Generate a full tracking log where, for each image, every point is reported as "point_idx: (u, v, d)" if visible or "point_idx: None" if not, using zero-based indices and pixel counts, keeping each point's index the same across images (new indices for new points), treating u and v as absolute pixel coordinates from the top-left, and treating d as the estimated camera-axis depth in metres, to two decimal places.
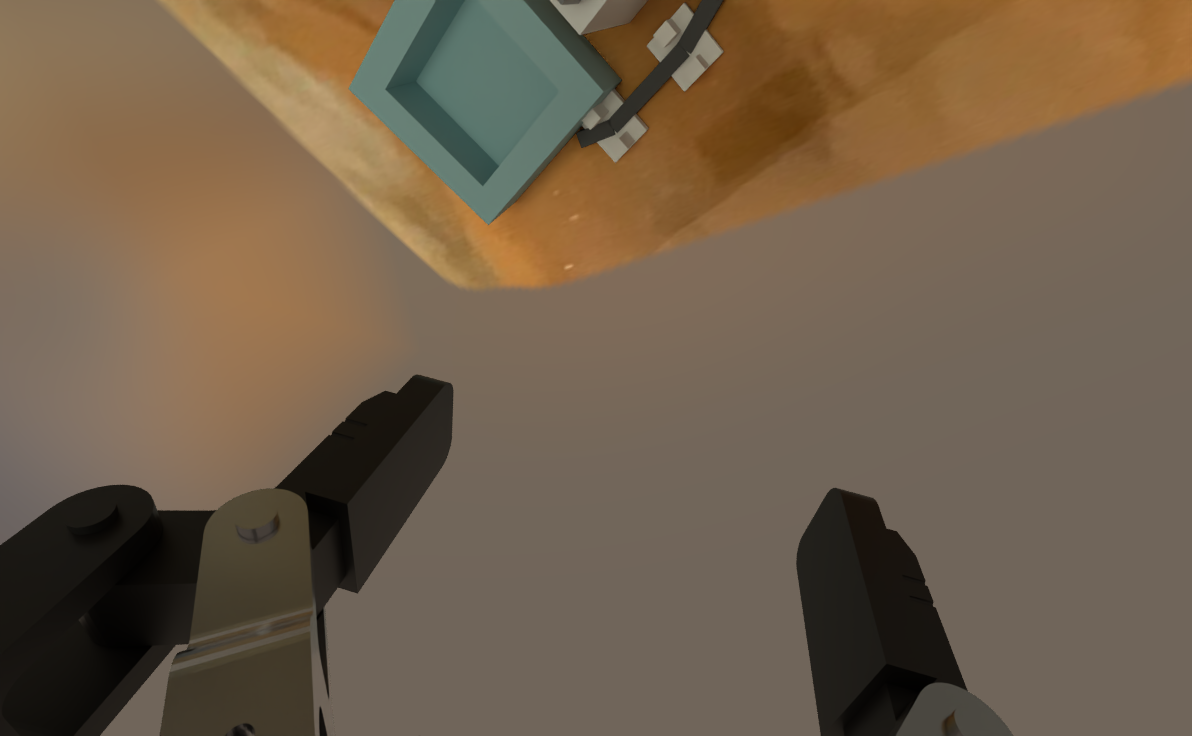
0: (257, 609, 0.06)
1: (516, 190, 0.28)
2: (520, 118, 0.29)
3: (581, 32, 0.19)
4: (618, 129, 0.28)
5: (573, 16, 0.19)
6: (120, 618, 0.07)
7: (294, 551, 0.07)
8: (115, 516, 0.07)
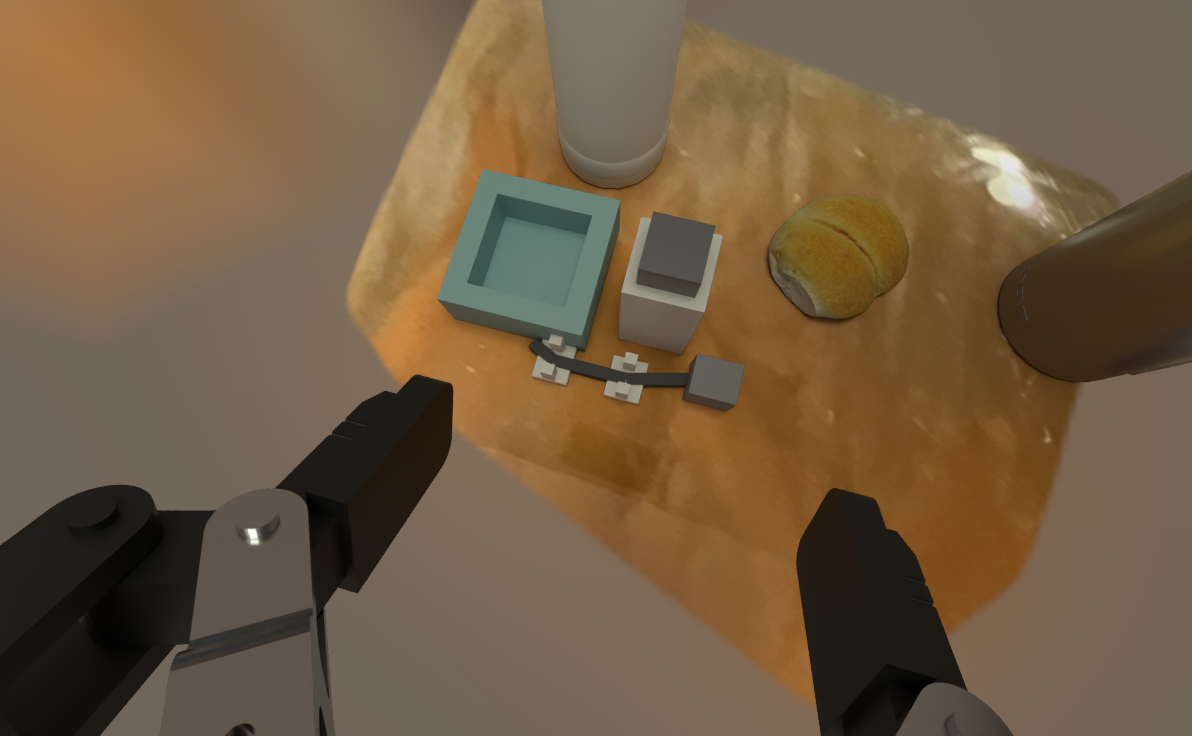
0: (257, 609, 0.06)
1: (478, 308, 0.33)
2: (523, 295, 0.37)
3: (622, 292, 0.28)
4: (555, 365, 0.36)
5: (628, 284, 0.28)
6: (120, 618, 0.07)
7: (294, 551, 0.07)
8: (115, 516, 0.07)
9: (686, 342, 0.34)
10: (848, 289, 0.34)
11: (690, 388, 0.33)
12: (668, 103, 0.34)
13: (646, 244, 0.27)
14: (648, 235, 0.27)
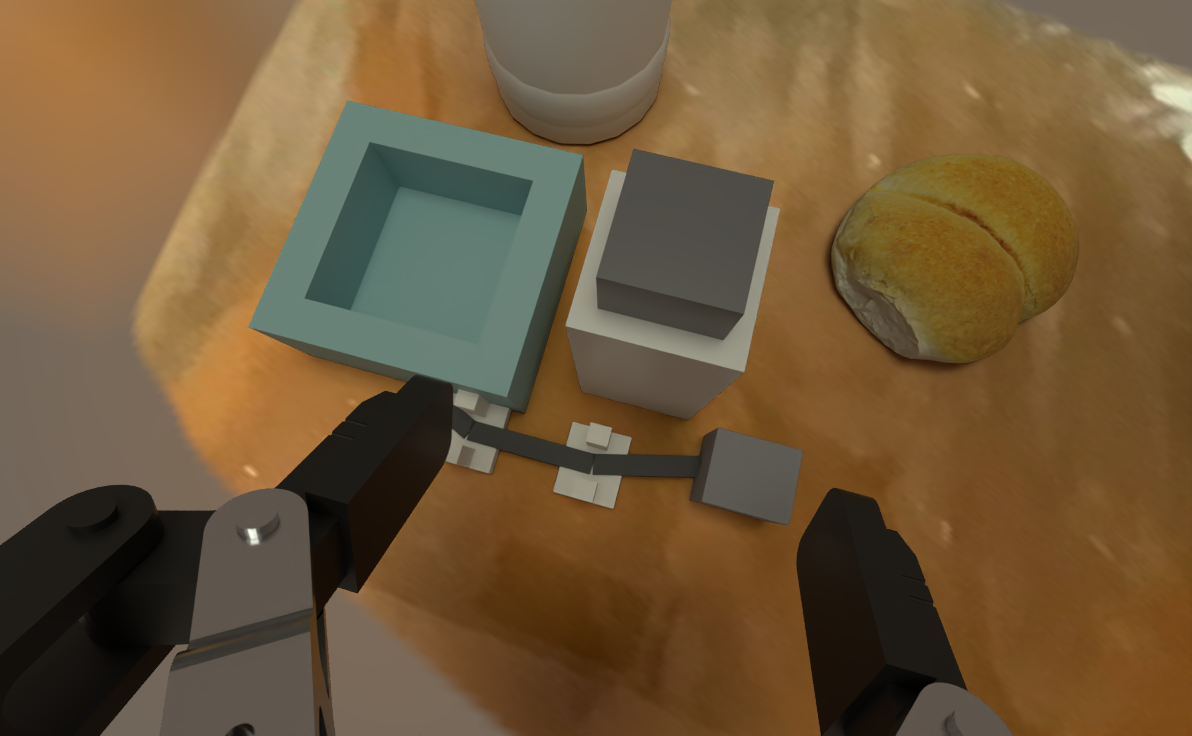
0: (257, 609, 0.06)
1: (322, 345, 0.18)
2: (421, 317, 0.22)
3: (569, 326, 0.13)
4: (471, 439, 0.21)
5: (580, 308, 0.13)
6: (120, 618, 0.07)
7: (294, 551, 0.07)
8: (115, 516, 0.07)
9: (698, 408, 0.19)
10: (983, 314, 0.19)
11: (705, 493, 0.18)
12: None
13: (616, 221, 0.12)
14: (621, 201, 0.12)
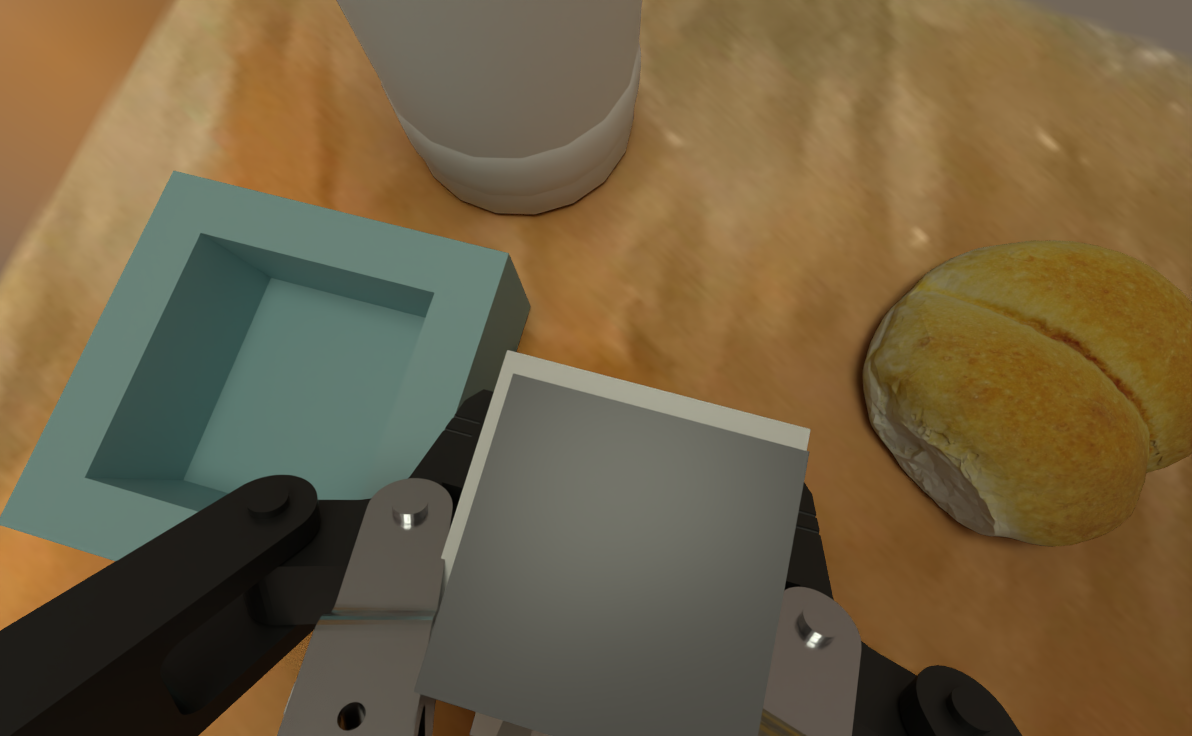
0: (393, 591, 0.07)
1: (105, 554, 0.12)
2: (290, 470, 0.15)
3: None
4: None
5: None
6: (269, 601, 0.08)
7: None
8: (287, 503, 0.07)
9: None
10: (1097, 495, 0.13)
11: None
12: None
13: (468, 549, 0.05)
14: (481, 500, 0.05)
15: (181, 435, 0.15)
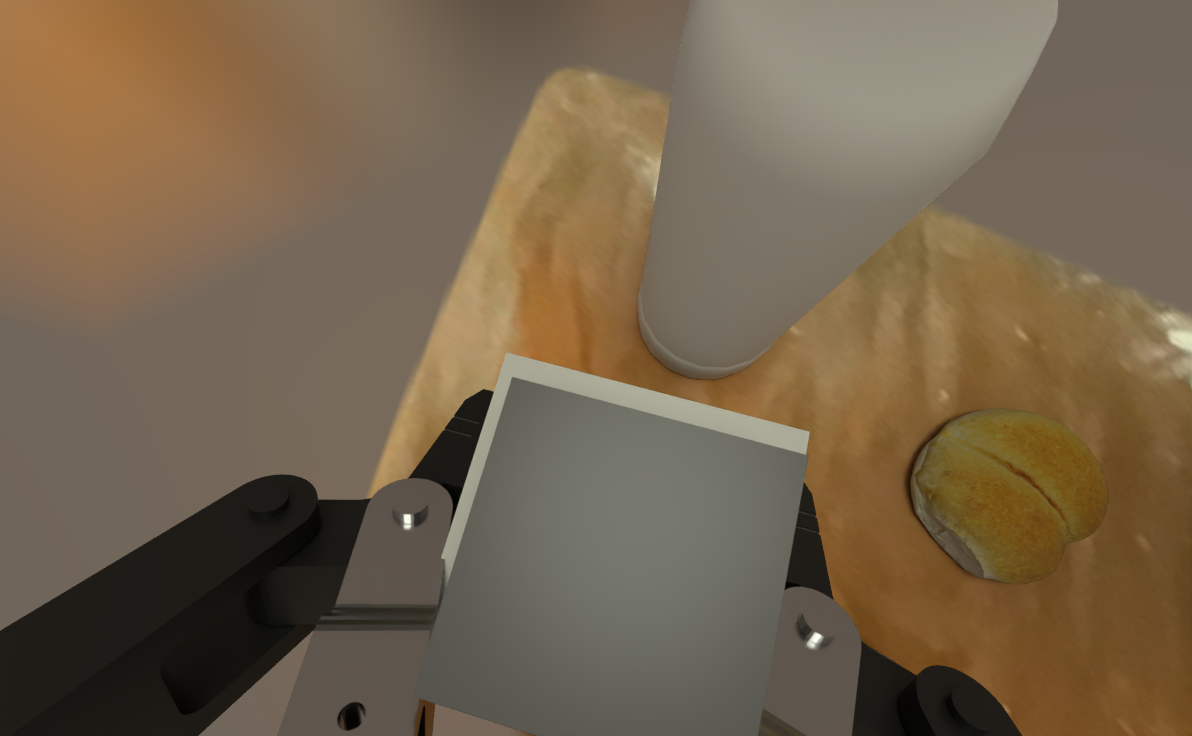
0: (393, 591, 0.07)
1: None
2: None
3: None
4: None
5: None
6: (269, 601, 0.08)
7: None
8: (287, 503, 0.07)
9: None
10: (1036, 560, 0.25)
11: None
12: None
13: (466, 553, 0.05)
14: (480, 503, 0.05)
15: None
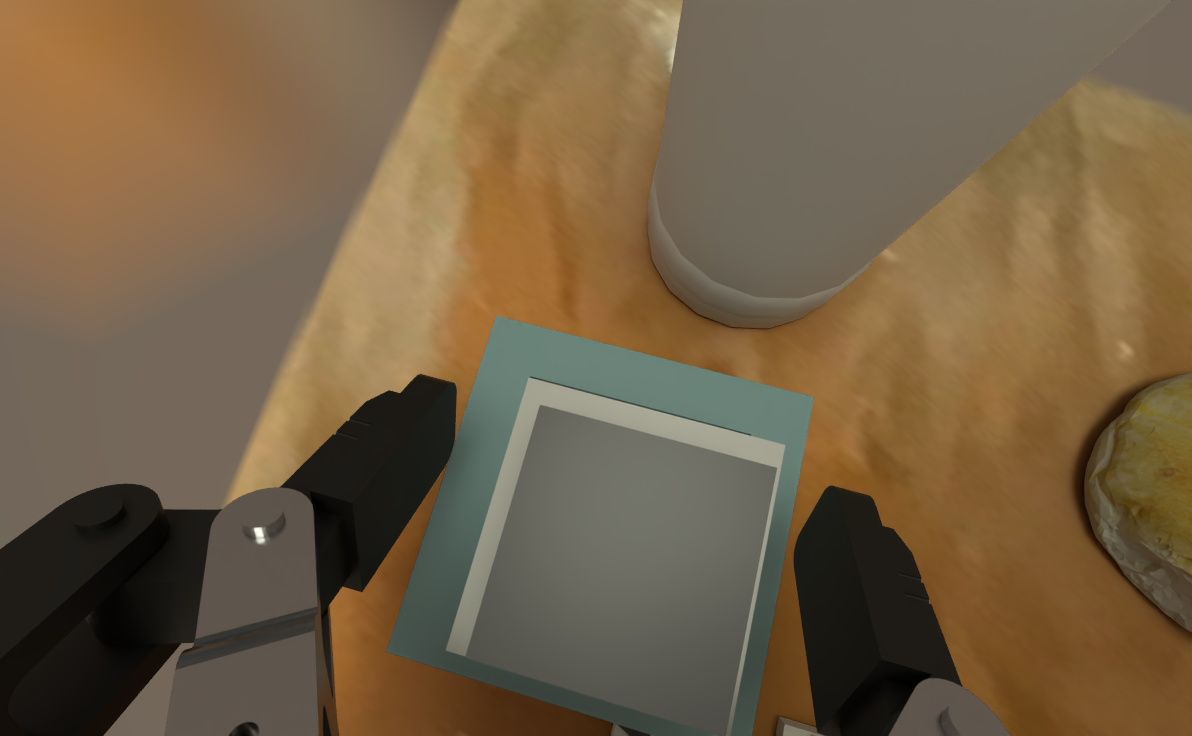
0: (262, 608, 0.06)
1: (487, 680, 0.14)
2: None
3: (452, 650, 0.08)
4: None
5: (471, 619, 0.08)
6: (126, 617, 0.07)
7: (300, 550, 0.07)
8: (122, 515, 0.07)
9: None
10: None
11: None
12: None
13: (505, 546, 0.07)
14: (515, 506, 0.07)
15: None
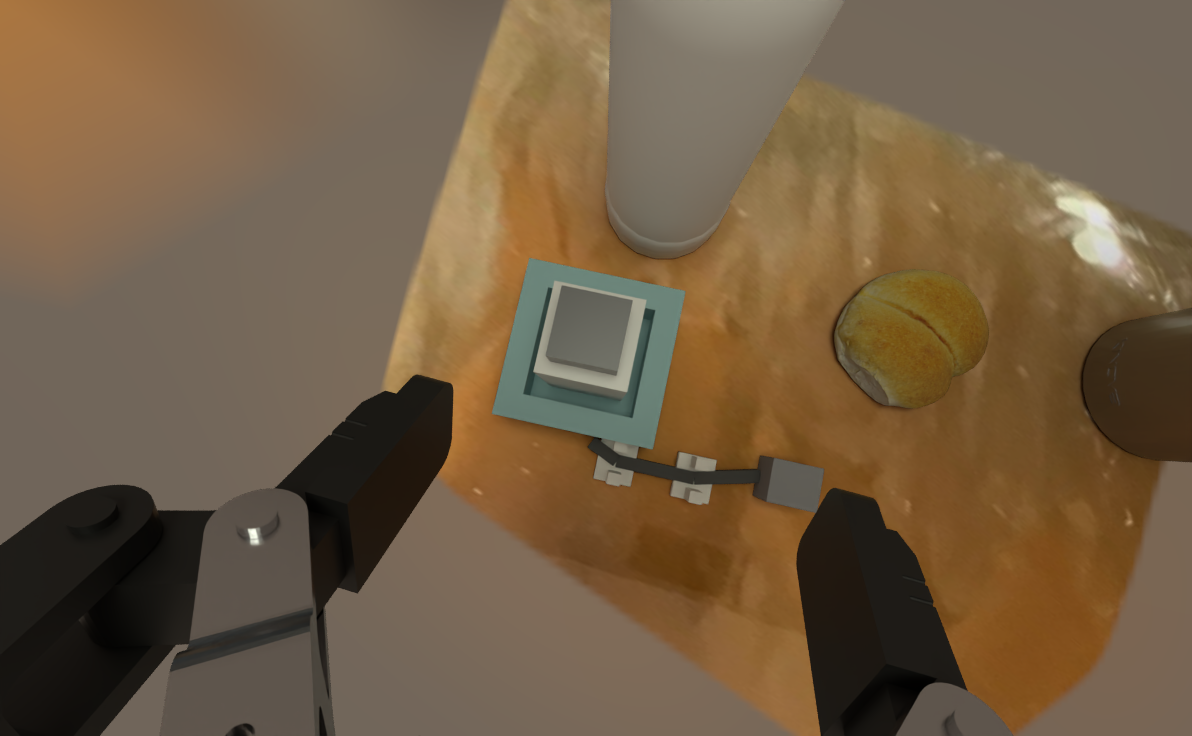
0: (257, 609, 0.06)
1: (538, 422, 0.31)
2: None
3: (535, 372, 0.25)
4: (618, 466, 0.34)
5: (541, 361, 0.25)
6: (120, 618, 0.07)
7: (294, 551, 0.07)
8: (115, 516, 0.07)
9: (620, 398, 0.31)
10: (927, 384, 0.32)
11: (768, 496, 0.31)
12: None
13: (554, 326, 0.23)
14: (556, 314, 0.23)
15: (532, 376, 0.33)
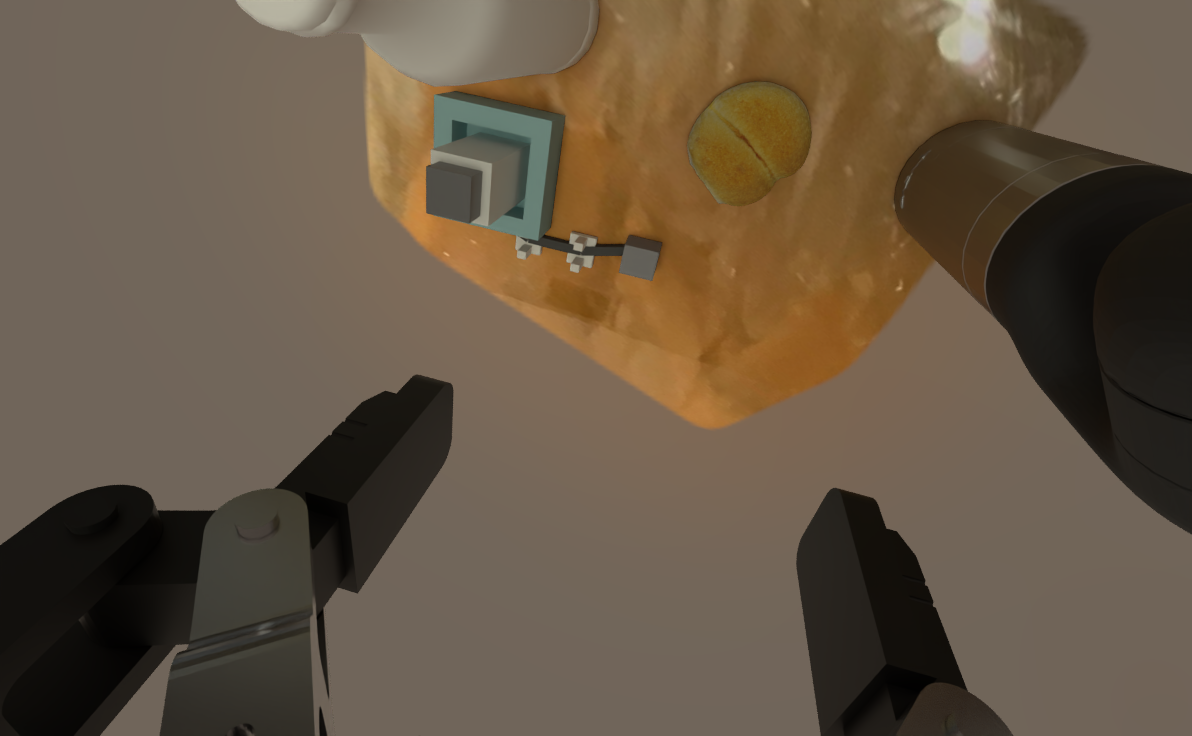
0: (257, 609, 0.06)
1: None
2: None
3: None
4: (529, 242, 0.49)
5: None
6: (120, 618, 0.07)
7: (294, 551, 0.07)
8: (115, 516, 0.07)
9: (513, 206, 0.44)
10: (740, 193, 0.41)
11: (620, 269, 0.47)
12: (577, 32, 0.35)
13: (427, 194, 0.37)
14: (427, 186, 0.36)
15: None
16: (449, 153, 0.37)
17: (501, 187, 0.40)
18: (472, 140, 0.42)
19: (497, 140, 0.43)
